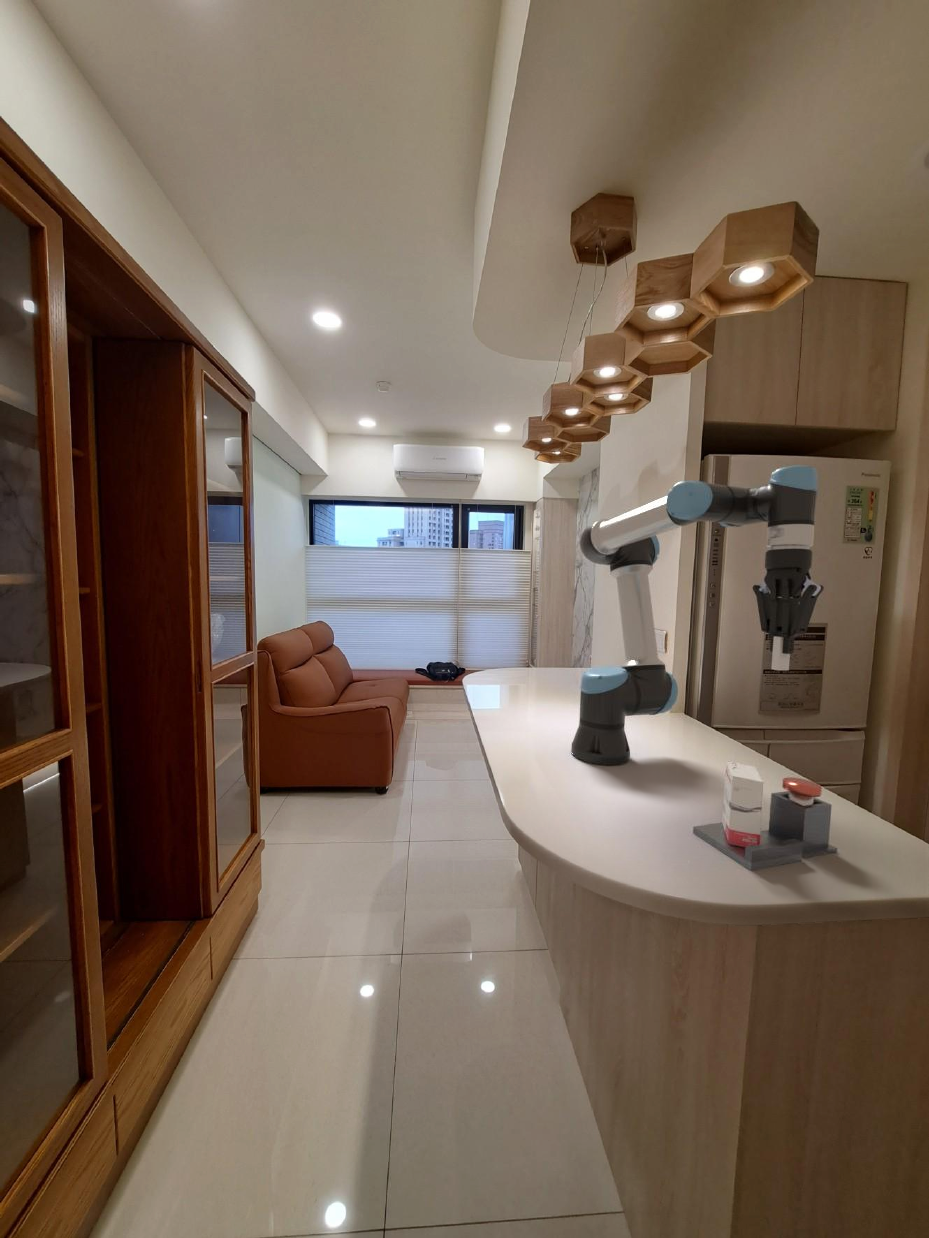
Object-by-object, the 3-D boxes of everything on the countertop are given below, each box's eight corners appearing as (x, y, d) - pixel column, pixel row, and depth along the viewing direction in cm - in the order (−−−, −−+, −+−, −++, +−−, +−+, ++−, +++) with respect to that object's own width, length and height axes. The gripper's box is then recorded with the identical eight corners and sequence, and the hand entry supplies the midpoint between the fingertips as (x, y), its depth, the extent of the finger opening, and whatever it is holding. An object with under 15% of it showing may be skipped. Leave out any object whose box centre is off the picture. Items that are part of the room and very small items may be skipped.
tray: (693, 832, 86) (694, 815, 86) (739, 825, 89) (740, 809, 89) (750, 870, 75) (752, 850, 74) (801, 860, 78) (803, 841, 78)
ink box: (760, 851, 78) (765, 782, 77) (726, 844, 80) (731, 776, 79) (751, 828, 86) (755, 764, 85) (721, 822, 88) (725, 760, 87)
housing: (760, 834, 86) (763, 791, 86) (792, 828, 89) (795, 787, 88) (803, 858, 79) (806, 811, 78) (837, 851, 81) (840, 806, 81)
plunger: (771, 828, 85) (775, 778, 85) (794, 824, 87) (798, 776, 87) (802, 844, 80) (806, 791, 80) (825, 840, 82) (829, 788, 81)
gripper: (744, 550, 96) (737, 664, 98) (808, 545, 84) (798, 676, 85) (772, 552, 99) (764, 664, 100) (838, 547, 86) (828, 675, 87)
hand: (780, 669), depth 93 cm, fingers closed
